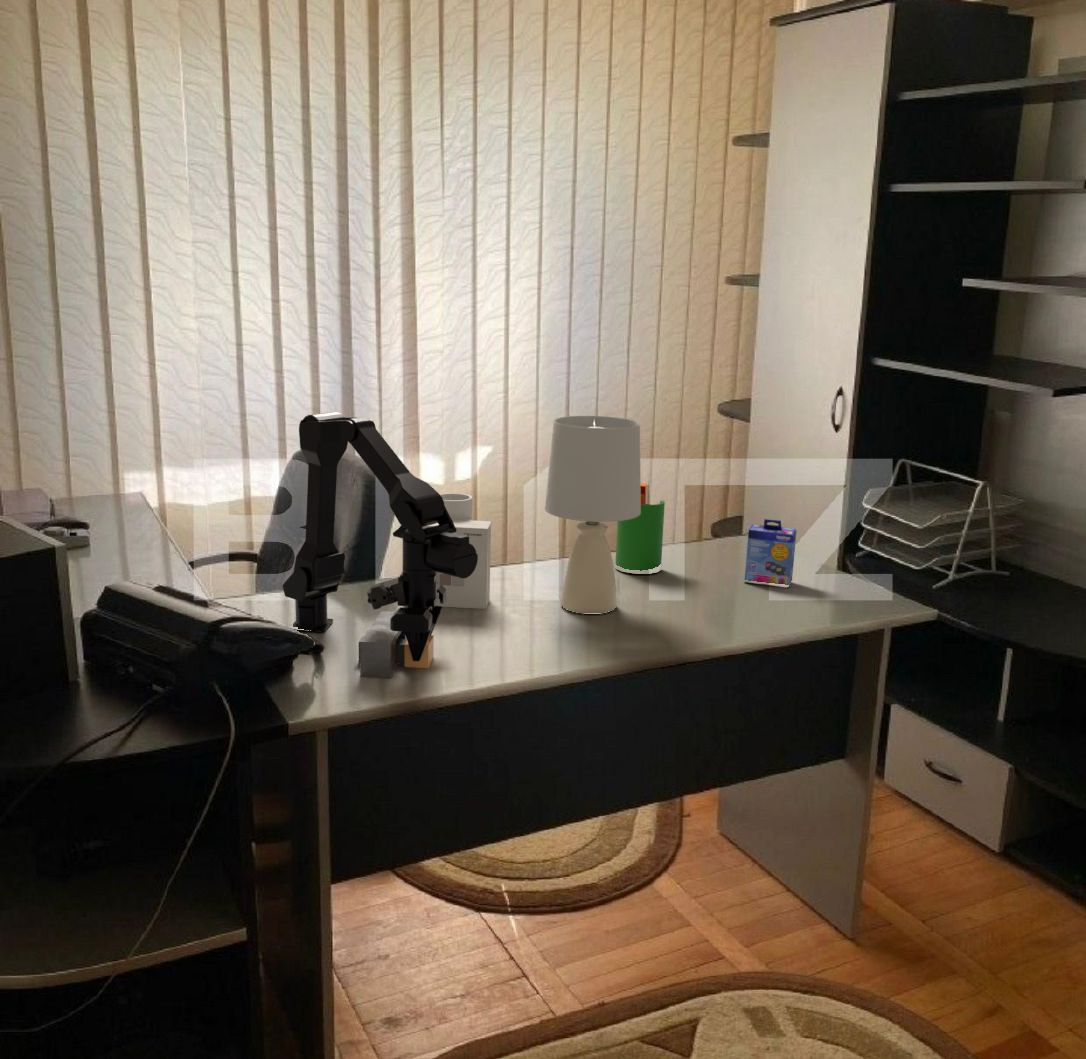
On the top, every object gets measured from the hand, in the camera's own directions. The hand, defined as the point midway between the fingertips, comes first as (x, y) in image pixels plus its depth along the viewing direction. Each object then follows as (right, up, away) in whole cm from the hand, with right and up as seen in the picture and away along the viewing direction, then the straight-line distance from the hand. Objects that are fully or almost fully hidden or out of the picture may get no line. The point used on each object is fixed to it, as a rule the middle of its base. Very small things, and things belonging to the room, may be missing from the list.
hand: (419, 655), depth 190 cm
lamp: (+30, +6, +33) cm, 45 cm away
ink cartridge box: (+70, +9, +54) cm, 89 cm away
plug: (-4, -1, +1) cm, 4 cm away
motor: (+42, +12, +61) cm, 75 cm away
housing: (-6, -1, +1) cm, 6 cm away
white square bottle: (+2, +8, +39) cm, 40 cm away
